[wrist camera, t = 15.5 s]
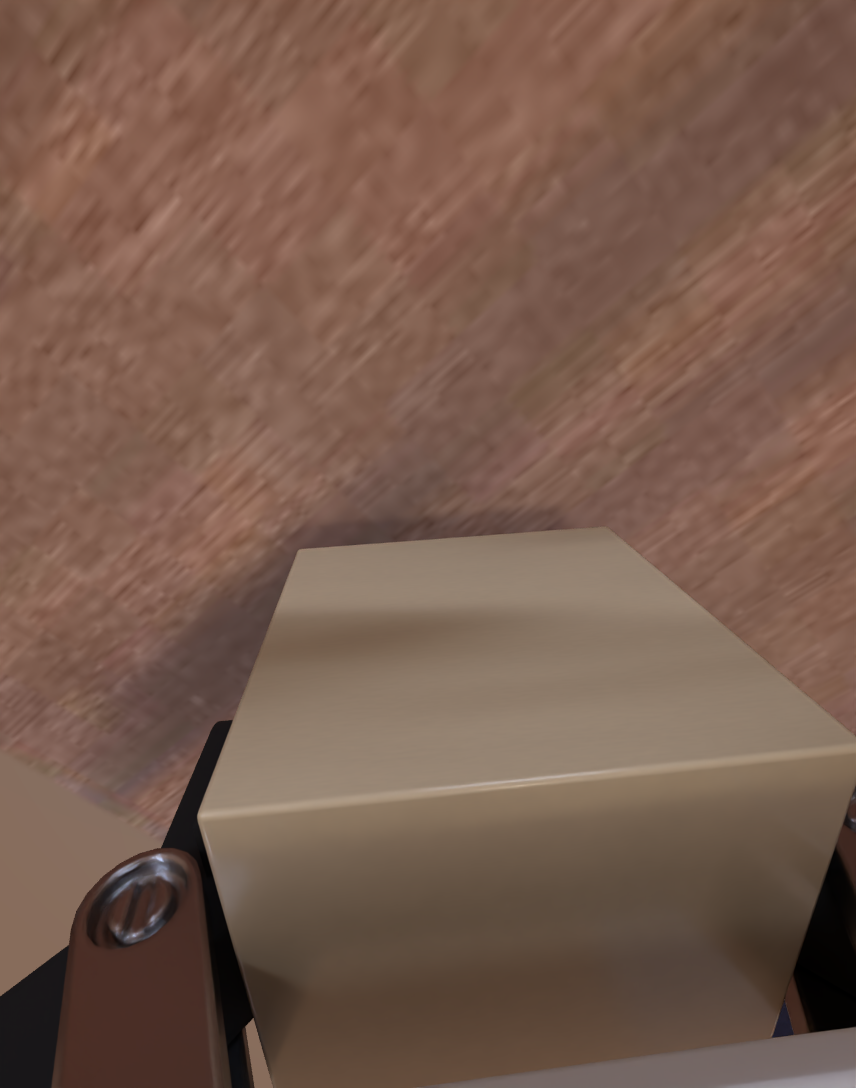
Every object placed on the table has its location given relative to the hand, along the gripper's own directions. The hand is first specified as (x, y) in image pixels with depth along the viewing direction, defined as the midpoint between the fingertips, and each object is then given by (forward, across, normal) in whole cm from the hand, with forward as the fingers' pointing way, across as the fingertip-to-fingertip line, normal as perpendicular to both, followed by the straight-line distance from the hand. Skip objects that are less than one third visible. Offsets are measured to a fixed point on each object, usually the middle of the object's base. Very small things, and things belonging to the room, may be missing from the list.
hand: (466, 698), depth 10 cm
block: (+1, 0, 0) cm, 1 cm away
